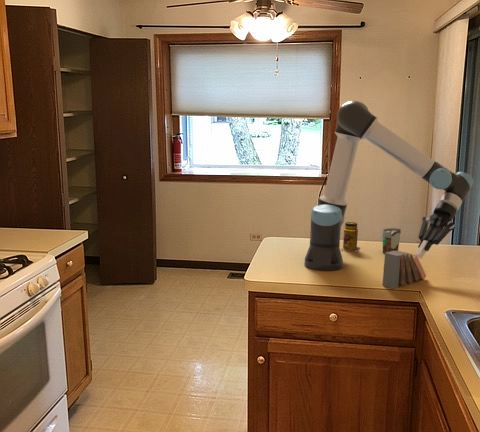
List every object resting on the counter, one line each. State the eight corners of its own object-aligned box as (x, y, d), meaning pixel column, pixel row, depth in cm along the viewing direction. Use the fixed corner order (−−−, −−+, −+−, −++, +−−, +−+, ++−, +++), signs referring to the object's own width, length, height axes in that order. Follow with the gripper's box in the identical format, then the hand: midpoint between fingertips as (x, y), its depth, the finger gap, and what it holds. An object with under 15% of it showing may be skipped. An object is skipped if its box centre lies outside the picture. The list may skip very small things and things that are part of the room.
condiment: (340, 250, 235) (342, 223, 232) (344, 245, 243) (345, 220, 240) (357, 252, 232) (358, 225, 230) (360, 247, 240) (362, 221, 238)
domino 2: (402, 286, 188) (401, 255, 184) (390, 283, 192) (389, 252, 188) (405, 284, 189) (404, 253, 185) (393, 281, 193) (392, 250, 189)
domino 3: (409, 284, 190) (404, 256, 185) (397, 280, 194) (392, 253, 189) (412, 281, 191) (408, 253, 186) (400, 277, 195) (395, 250, 190)
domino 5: (423, 279, 196) (413, 259, 189) (411, 276, 200) (401, 256, 193) (426, 275, 197) (416, 255, 190) (414, 272, 200) (404, 252, 194)
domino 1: (394, 289, 185) (397, 255, 183) (382, 285, 189) (385, 252, 186) (397, 288, 186) (400, 255, 184) (385, 284, 190) (388, 251, 188)
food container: (385, 248, 240) (387, 226, 238) (399, 250, 236) (401, 228, 234) (375, 253, 230) (377, 231, 228) (389, 256, 226) (391, 233, 224)
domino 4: (416, 282, 193) (408, 257, 187) (404, 278, 197) (396, 254, 191) (419, 278, 194) (411, 254, 188) (407, 274, 198) (399, 251, 192)
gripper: (466, 216, 200) (437, 266, 193) (435, 210, 210) (406, 258, 203) (460, 203, 196) (431, 254, 189) (428, 198, 205) (399, 246, 198)
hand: (418, 256), depth 196 cm, fingers closed
